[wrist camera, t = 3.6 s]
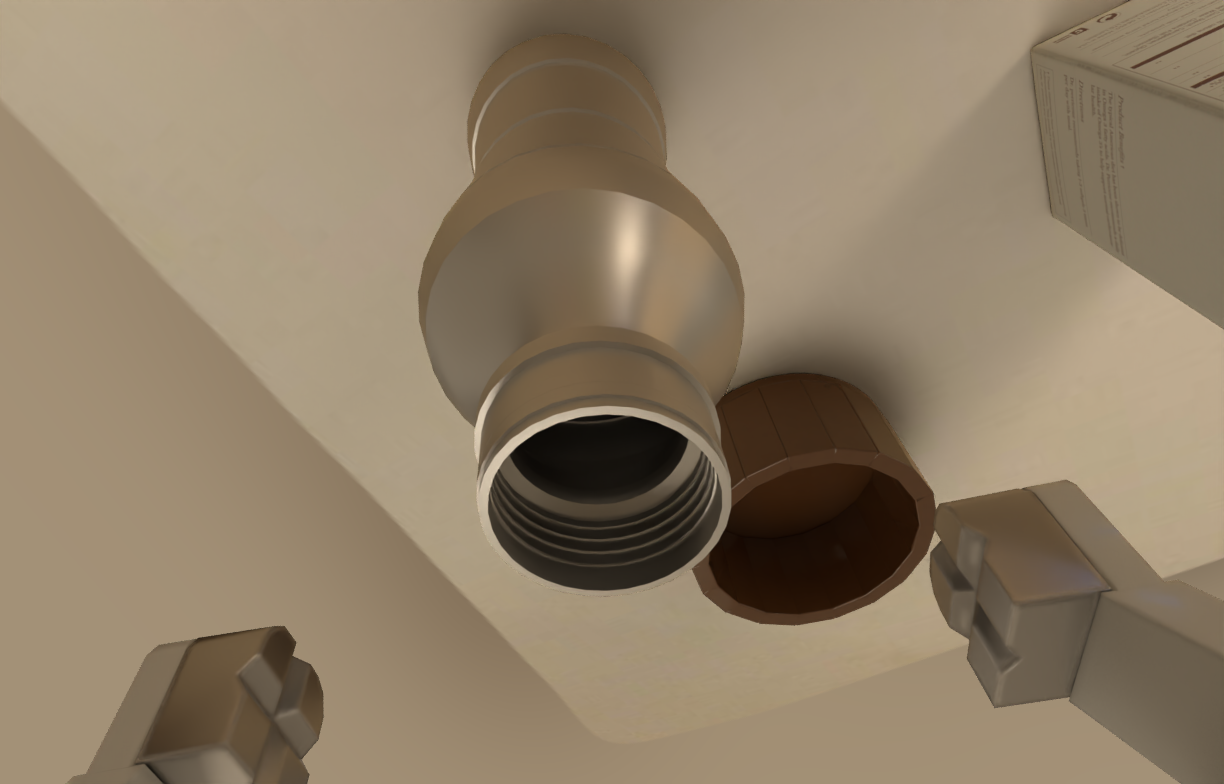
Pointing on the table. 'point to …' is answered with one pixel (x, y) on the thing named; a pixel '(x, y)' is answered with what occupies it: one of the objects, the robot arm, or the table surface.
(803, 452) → the cup
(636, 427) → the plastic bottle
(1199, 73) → the white packaging box
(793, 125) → the table surface
